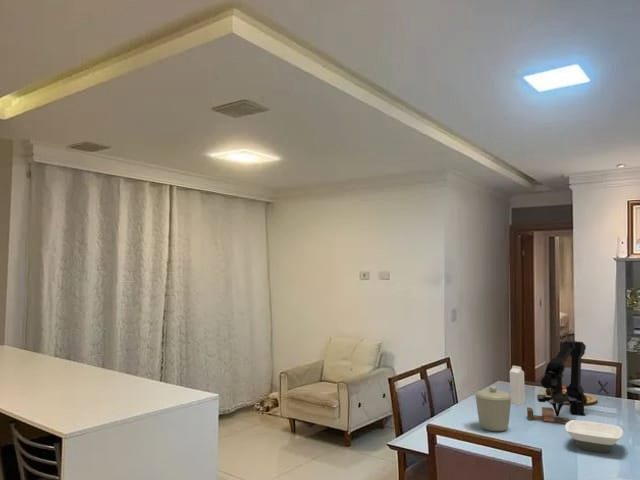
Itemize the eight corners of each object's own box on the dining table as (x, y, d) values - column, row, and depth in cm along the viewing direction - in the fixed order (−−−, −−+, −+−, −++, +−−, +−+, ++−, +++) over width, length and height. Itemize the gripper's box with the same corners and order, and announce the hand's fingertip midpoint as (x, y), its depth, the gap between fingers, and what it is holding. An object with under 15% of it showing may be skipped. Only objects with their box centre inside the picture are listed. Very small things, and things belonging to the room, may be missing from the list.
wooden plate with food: (603, 408, 293) (602, 393, 293) (543, 403, 302) (543, 389, 302) (590, 396, 323) (590, 383, 324) (536, 392, 332) (536, 379, 333)
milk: (519, 405, 298) (518, 367, 299) (510, 403, 303) (509, 366, 304) (525, 403, 302) (524, 366, 303) (515, 401, 307) (514, 364, 308)
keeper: (552, 418, 271) (552, 407, 271) (554, 421, 264) (553, 411, 264) (542, 417, 272) (541, 407, 272) (543, 420, 266) (543, 410, 266)
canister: (499, 422, 264) (499, 381, 266) (520, 433, 247) (519, 389, 248) (468, 424, 260) (467, 382, 262) (487, 435, 243) (486, 390, 244)
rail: (567, 419, 268) (567, 410, 269) (570, 423, 262) (569, 413, 262) (527, 416, 274) (527, 407, 275) (528, 420, 268) (528, 410, 268)
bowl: (623, 460, 210) (622, 439, 211) (562, 450, 222) (562, 430, 223) (624, 445, 229) (623, 426, 230) (568, 436, 241) (568, 418, 242)
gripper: (539, 388, 263) (540, 418, 262) (578, 390, 257) (579, 421, 256) (536, 383, 274) (537, 413, 272) (574, 385, 268) (575, 415, 267)
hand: (557, 415), depth 267 cm, fingers closed
